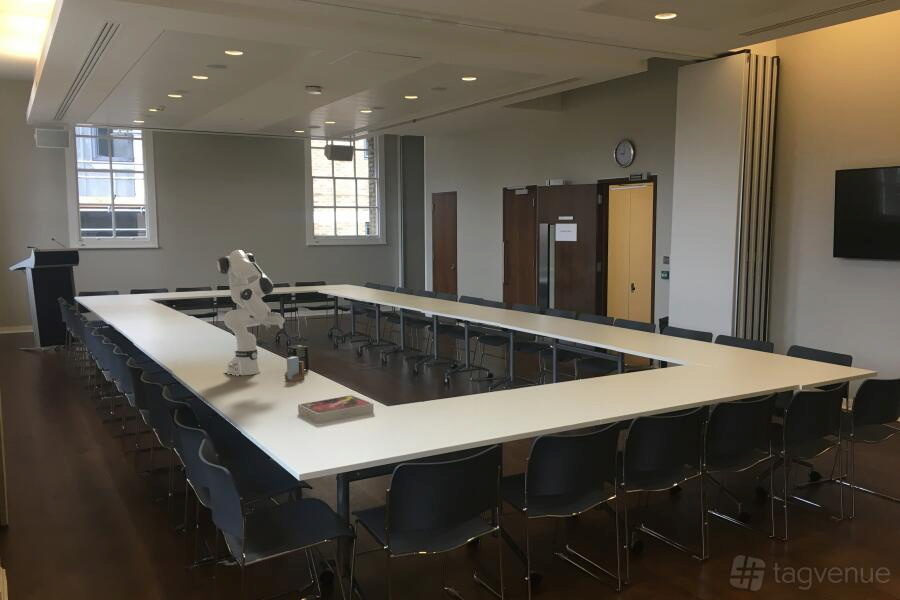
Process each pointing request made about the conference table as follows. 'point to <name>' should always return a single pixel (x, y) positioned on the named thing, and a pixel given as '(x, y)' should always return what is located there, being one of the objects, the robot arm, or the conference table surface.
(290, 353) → the tampon box
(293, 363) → the blue-grey rectangular block
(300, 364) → the brown wooden holder
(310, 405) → the product packaging
